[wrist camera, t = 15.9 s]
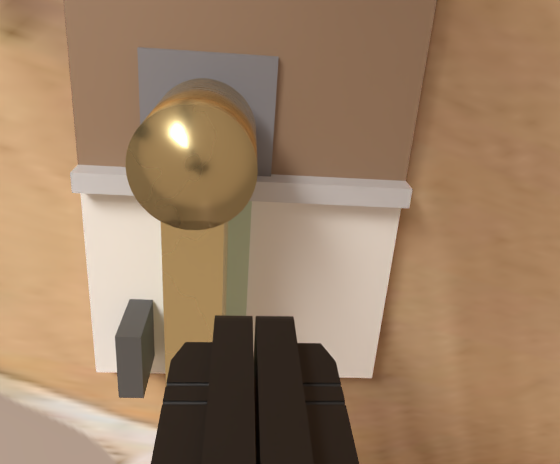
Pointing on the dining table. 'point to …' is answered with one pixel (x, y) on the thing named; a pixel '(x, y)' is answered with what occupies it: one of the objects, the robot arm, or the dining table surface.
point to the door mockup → (270, 161)
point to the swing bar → (194, 197)
